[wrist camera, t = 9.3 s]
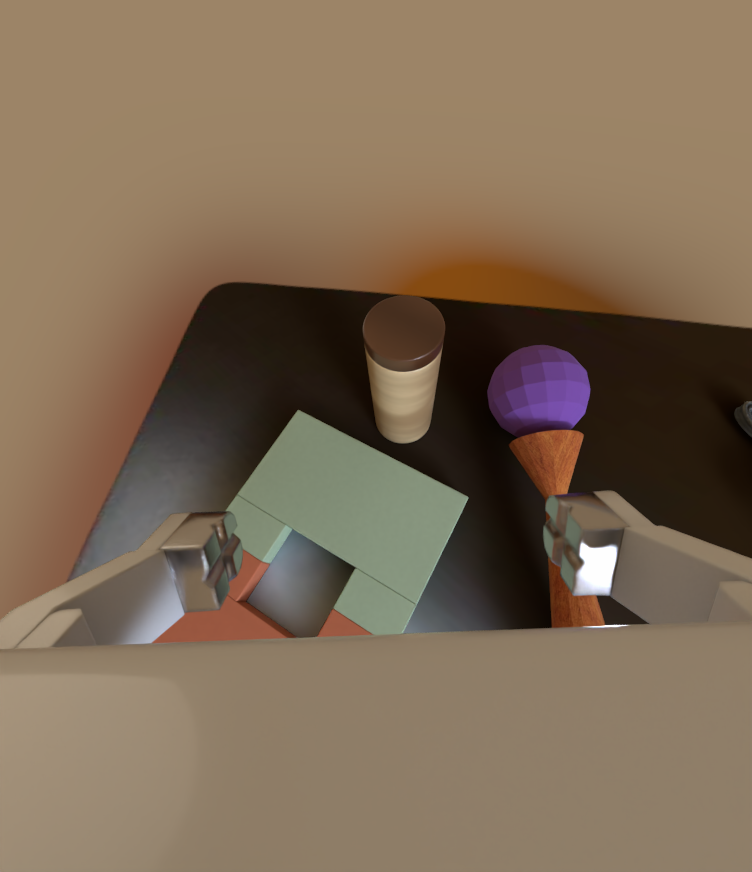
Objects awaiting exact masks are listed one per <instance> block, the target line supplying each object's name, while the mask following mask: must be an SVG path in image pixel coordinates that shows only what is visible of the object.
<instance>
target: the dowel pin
mask: <svg viewBox="0 0 752 872" xmlns="http://www.w3.org/2000/svg"><path fill="white" fill-rule="evenodd" d="M444 335H445V322H444V319H443V317H442V315H441V313H440V311H439V310H438V309H437V308H436V307H435V306H434V305H433V304H431V303H430V302H428V301H426V300H424V299H422V298H419V297H414V296H395V297H391V298H388V299H385V300H383V301H381V302H380V303H378V304H377V305H375V306H374V307H373V308H372V309H371V310H370V311H369V313H368V314H367V316H366V318H365V320H364V324H363V337H364V344H365V351H366V358H367V365H368V372H369V379H370V386H371V393H372V400H373V407H374V414H375V421H376V425H377V428H378V430H379V432H380V433H381V434H382V435H383V436H384V437H385V438H387V439H388V440H390V441H393V442H396V443H410V442H413V441H416V440H418V439H419V438H421V437H422V436H423V435H424V434H425V433H426V432H427V430H428V428H429V426H430V422H431V415H432V409H433V403H434V397H435V391H436V384H437V378H438V372H439V366H440V360H441V353H442V347H443V341H444Z"/></svg>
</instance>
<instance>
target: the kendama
mask: <svg viewBox="0 0 752 872" xmlns="http://www.w3.org/2000/svg"><path fill="white" fill-rule="evenodd" d="M487 394H488V402H489V408H490V410H491V412H492V414H493V416H494V417H495V419H496V420H497V422H498V423H499V425H500V427H501V428H503V429H505V430H506V431H508V432H509V433H511V434H512V435H514V436H516V437H518V439H515V440H513V441H512V442H511V443H510V444H509V447H510V449H511V450H512V452H513V453H514V455H515V456H516V457H517V459H518V460H519V462H520V463H521V465H522V466H523V468H524V469H525V471H526V472H527V474H528V475H529V476H530V478H531V479H532V481H533V482H534V484H535V485H536V487H537V488H538V490H539V491H540V493H541V494H542V495H543V497H544V498H545V504H546V501H547V499H548V496H549V495H559V494H567V491H568V487H569V484H570V480H571V477H572V474H573V470H574V467H575V463H576V460H577V457H578V453H579V450H580V446H581V443H582V439H583V434H582V433H580V432H578V431H572V430H570V429H572V428H573V427H574V426H575V424H576V423H577V422H578V421H579V420H580V419H581V417H582V416H583V415H584V414H585V411H586V407H587V403H588V399H589V395H590V385H589V381H588V376H587V372H586V370H585V369H584V368H583V367H582V366H581V364H580V363H579V362H578V361H577V360H576V359H575V358H574V357H573V356H572V355H571V354H570V353H568V352H566V351H563V350H561V349H558V348H555V347H552V346H547V345H534V346H529V347H525V348H522V349H520V350H517V351H515V352H513V353H512V354H510V355H509V356H508V357H507V358H505V359H504V360H503V362H502V363H501V364H500V365H499V366H498V367H497V368H496V369H495V371H494V373H493V375H492V378H491V381H490V384H489V387H488V390H487ZM549 519H550V516H549V514H548V513H547V512H546V522H547V521H548V520H549ZM548 561H549V580H550V599H551V618H552V628H564V627H590V626H605V623H604V620H603V616H602V613H601V610H600V607H599V604H598V600H597V597H596V595H577V596H573V595H572V593H571V592H570V590H569V589H568V587H567V585H566V584H565V582H564V581H563V579H562V578H561V576H560V570H561V567H559V566H558V565H556V564H554V563H552V562H551V560H550V558H549V557H548Z"/></svg>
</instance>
